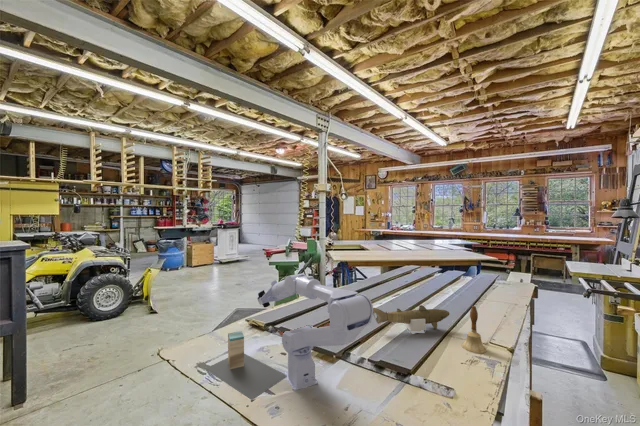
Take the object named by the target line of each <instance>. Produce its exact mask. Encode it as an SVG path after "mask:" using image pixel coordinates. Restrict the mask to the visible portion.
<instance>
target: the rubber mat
mask: <svg viewBox="0 0 640 426" xmlns="http://www.w3.org/2000/svg"><path fill="white" fill-rule="evenodd" d="M204 369H205V370H206V371H207V372H209V373H211V375H213V376H215V377H216V378H218V379H220V380H221V381H223V382H224V383H225V384H227V385H229V386H230V387H232V388H233V389H235V390H236V391H238V392H239V393H241V394H242V395H244V396H245V397H246V398H249V400H250V402H252V403H253V402H254V401H255V400H256V398H257V397H258V396H260V395H262V394H264V392H266V391H267V390H269V389H271V388H272V387H273V386H275V385H277V384H279V383H280V382H281V381H283V380H284V379H287V378H286V377H287V376H286V375H285V374H286V373H285V374H284V372H281V371H279V370H277V369H276V368H273V367H272V366H269V365H268V364H266V363H263V362H261V361H260V360H258V359H256V358H254V357H252V356H249V355H248V354H246V353H244V366H242V367H238V368H234V369H230V367H229V363H228V357H227V358H224V359H222V360H220V361H218V362H216V363H214V364H211V365H210V366H208V367H206V368H204Z"/></svg>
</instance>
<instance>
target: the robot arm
mask: <svg viewBox="0 0 640 426" xmlns="http://www.w3.org/2000/svg"><path fill="white" fill-rule="evenodd" d="M270 285H271V286H270V287H269V289H268V290H266V292H265V289H264V290H261V291H259V292H258V294H257V296H258V297H257V301H258V304H259V305H260V306H261V305H262V306H263V308H268V307H270V306H271V304H270V303H271V302H278V301H282V300H284V299H286V298H288V297H292V296H294V295H299V296H302V297H305V298H308V299H310V300H316V299H317V298H318V299H320V300H323V301H325V302H326V303H327V313H328V314H329V315H328V316H329V318H328V319H329V320H328V321H330V326H326V327H319V328H317V327H313V326H312V325H306V326H304V327H300V328H297V329H294V330H290V331H285V332H284V333H283V335H281V336H282V337H281V344H282V347H283V349H284V351H285V352H286V353H287V371H284V372H283V374H285V375H286V376H287V377H286V378H285V379H287V381H288V383H289V384H290V386H291V388H292V390H293V391H298V390H301V389H305V388H308V387H311V386H315V385H319V382H318V380H317V379H316V363H315V361H314V360H313V357H312V350H313V349H314V347H331V346H332V347H333V346H344V345H347V344H350V343H352V342H355V340H356V339H357V338H358V336H359V335H360V334H361V332H362V331H363V329H364V328H366V327H367V326H368V325H369V324H371V323H372V320H373V316H374V315H373V308H374V305H373V302H372V301H371V299H370V298H369V296H368V295H366V294H365V293H361V294H359V292H357V291H355V290H348V289H342V288H338V287H333V286H328V285H324V284H322V283H321V281H319V280H318V279H316V278H314V275H313V276H312V275H309V276H308V275H306V274H305V273H303V272H302V273H297V274H291V275H287V276H286V277H285V278H284V279H283V278H282V280H280V281H277V280H276V279H274V280H273V281H271V282H270Z"/></svg>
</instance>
